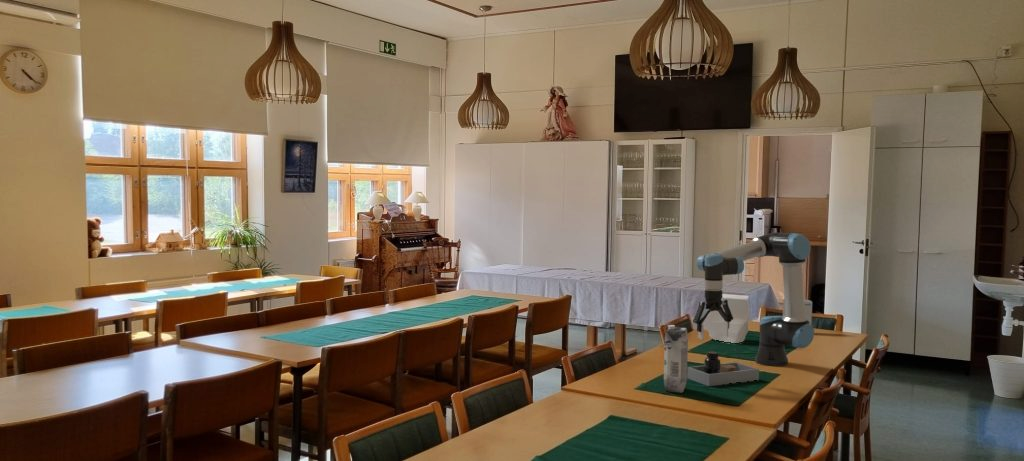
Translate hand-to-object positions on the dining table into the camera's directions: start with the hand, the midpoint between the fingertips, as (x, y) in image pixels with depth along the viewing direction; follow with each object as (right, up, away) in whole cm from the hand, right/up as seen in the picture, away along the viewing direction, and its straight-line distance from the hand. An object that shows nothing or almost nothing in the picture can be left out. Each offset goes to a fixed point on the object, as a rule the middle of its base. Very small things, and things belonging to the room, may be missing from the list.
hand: (713, 337), depth 317 cm
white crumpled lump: (+34, -16, +95) cm, 102 cm away
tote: (+5, -19, +3) cm, 20 cm away
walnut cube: (+8, -19, +5) cm, 21 cm away
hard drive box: (+84, -15, +120) cm, 148 cm away
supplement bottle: (0, -19, +1) cm, 19 cm away
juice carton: (-20, -20, -16) cm, 32 cm away
